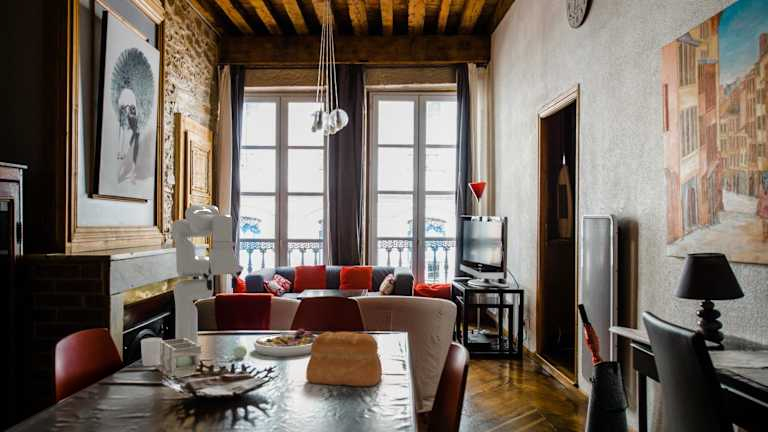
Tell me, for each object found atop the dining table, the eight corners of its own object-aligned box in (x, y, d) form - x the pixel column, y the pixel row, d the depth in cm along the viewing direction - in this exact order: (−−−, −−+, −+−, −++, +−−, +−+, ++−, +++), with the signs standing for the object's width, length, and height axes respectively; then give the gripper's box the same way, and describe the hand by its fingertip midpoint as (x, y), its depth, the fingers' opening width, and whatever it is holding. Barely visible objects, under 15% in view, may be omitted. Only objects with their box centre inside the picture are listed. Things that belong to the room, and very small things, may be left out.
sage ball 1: (173, 369, 196) (173, 354, 196) (188, 366, 199) (188, 352, 199) (178, 372, 191) (178, 357, 191) (193, 369, 195) (193, 354, 195)
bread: (374, 389, 175) (374, 338, 175) (302, 384, 180) (302, 335, 181) (384, 376, 190) (384, 329, 190) (318, 372, 196) (317, 327, 196)
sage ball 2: (231, 358, 219) (231, 344, 219) (243, 356, 222) (243, 343, 222) (236, 360, 214) (236, 347, 214) (248, 358, 218) (249, 345, 218)
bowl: (301, 361, 214) (301, 342, 214) (240, 356, 224) (240, 337, 224) (331, 346, 242) (331, 329, 243) (276, 341, 252) (276, 325, 252)
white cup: (153, 367, 205) (154, 341, 205) (136, 366, 206) (136, 341, 207) (166, 362, 213) (166, 337, 213) (149, 361, 214) (149, 337, 214)
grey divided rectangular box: (156, 367, 204) (156, 341, 204) (187, 362, 211) (187, 337, 211) (171, 379, 187) (171, 350, 187) (204, 373, 194) (204, 346, 195)
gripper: (239, 245, 212) (239, 286, 211) (197, 246, 201) (196, 289, 201) (246, 245, 206) (246, 288, 205) (203, 246, 195) (203, 291, 195)
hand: (222, 289), depth 203 cm, fingers open, 9 cm apart
